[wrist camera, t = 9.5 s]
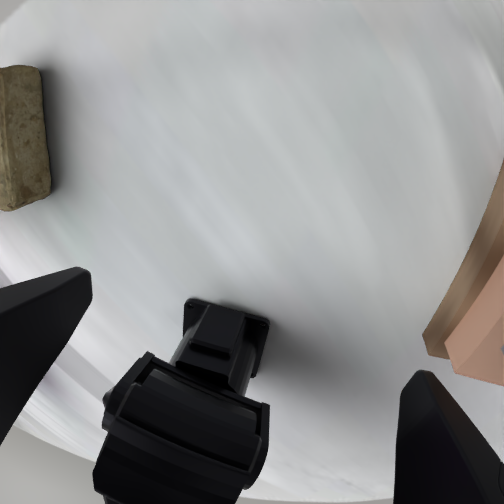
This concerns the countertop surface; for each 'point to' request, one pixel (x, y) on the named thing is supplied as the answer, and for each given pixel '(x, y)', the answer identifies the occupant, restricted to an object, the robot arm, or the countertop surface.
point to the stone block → (22, 138)
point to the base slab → (470, 274)
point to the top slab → (481, 334)
